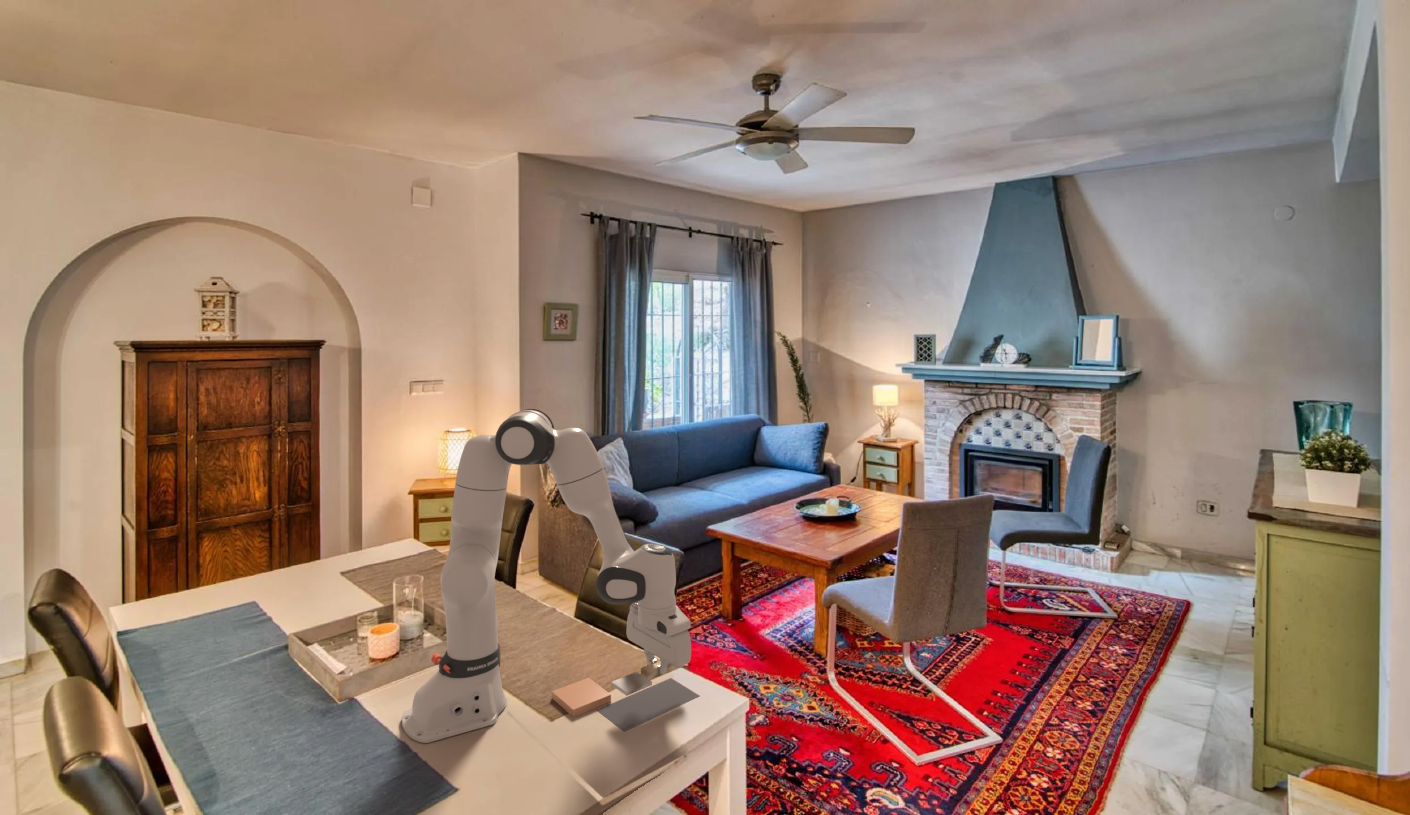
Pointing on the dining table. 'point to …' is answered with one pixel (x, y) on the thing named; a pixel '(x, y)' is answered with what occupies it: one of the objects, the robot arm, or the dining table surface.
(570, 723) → the dining table surface
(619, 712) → the mat
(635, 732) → the dining table surface
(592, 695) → the tile
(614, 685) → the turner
